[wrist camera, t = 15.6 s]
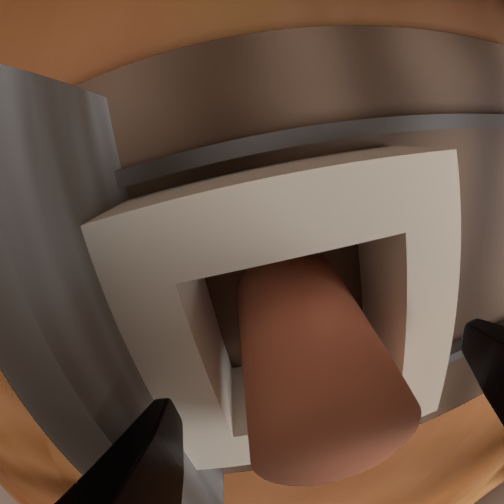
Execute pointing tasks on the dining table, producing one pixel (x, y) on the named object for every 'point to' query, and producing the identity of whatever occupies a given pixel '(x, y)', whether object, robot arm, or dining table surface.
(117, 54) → the dining table surface
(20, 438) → the dining table surface
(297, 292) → the dowel
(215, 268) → the block
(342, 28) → the board
